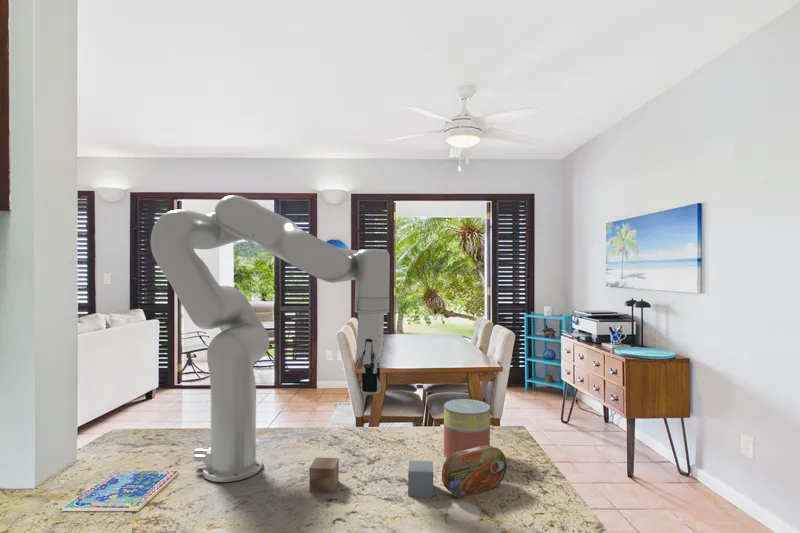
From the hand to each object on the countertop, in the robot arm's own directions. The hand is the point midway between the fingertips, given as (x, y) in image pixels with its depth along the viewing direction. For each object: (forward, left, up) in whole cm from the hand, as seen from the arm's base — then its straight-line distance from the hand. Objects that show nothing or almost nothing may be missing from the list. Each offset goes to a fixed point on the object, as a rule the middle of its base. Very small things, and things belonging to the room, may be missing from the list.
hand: (370, 387), depth 98 cm
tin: (+22, -5, -19) cm, 30 cm away
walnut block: (-9, -6, -19) cm, 22 cm away
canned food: (+22, +12, -19) cm, 32 cm away
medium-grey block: (+11, -6, -19) cm, 23 cm away
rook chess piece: (0, 0, -1) cm, 1 cm away
